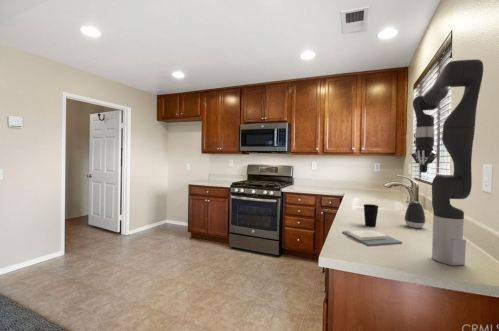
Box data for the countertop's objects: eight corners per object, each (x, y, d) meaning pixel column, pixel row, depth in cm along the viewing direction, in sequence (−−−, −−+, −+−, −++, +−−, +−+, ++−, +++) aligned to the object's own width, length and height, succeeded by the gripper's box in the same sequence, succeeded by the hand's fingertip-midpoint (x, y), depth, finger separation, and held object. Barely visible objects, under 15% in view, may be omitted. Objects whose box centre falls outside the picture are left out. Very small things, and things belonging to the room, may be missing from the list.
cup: (362, 226, 146) (363, 205, 146) (363, 223, 153) (364, 203, 152) (377, 228, 142) (378, 207, 142) (377, 225, 149) (378, 205, 149)
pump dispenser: (400, 225, 149) (400, 200, 148) (411, 224, 153) (412, 199, 153) (417, 230, 139) (418, 203, 139) (429, 228, 144) (430, 201, 143)
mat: (402, 243, 117) (402, 241, 117) (368, 246, 113) (368, 244, 113) (372, 231, 136) (372, 229, 136) (342, 232, 132) (342, 231, 132)
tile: (386, 235, 121) (361, 237, 117) (386, 238, 121) (361, 240, 118) (372, 229, 130) (348, 231, 127) (372, 232, 130) (348, 234, 127)
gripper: (406, 137, 128) (405, 171, 129) (430, 135, 115) (429, 173, 116) (419, 138, 130) (417, 171, 130) (444, 135, 117) (442, 173, 117)
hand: (423, 172), depth 123 cm, fingers closed
